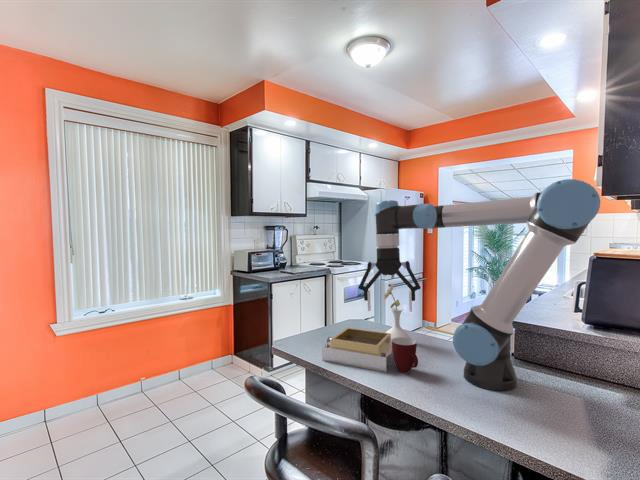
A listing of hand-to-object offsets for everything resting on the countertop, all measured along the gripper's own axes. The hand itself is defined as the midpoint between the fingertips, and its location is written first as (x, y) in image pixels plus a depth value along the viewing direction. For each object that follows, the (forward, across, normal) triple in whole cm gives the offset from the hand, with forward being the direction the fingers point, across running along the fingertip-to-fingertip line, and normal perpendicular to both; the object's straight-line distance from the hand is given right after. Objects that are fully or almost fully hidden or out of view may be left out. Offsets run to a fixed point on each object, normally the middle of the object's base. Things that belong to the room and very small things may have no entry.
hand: (389, 310), depth 115 cm
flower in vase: (+20, -2, -32) cm, 38 cm away
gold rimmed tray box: (+20, +13, -12) cm, 27 cm away
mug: (+21, -5, -1) cm, 22 cm away
